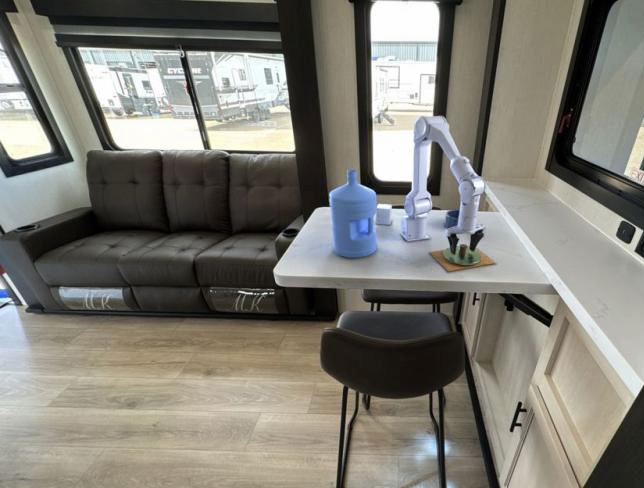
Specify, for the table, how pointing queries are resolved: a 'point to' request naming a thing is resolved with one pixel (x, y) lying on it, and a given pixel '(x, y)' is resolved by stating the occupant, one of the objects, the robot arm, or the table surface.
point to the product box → (383, 214)
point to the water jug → (353, 218)
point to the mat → (453, 267)
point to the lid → (462, 255)
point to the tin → (452, 218)
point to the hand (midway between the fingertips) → (462, 251)
